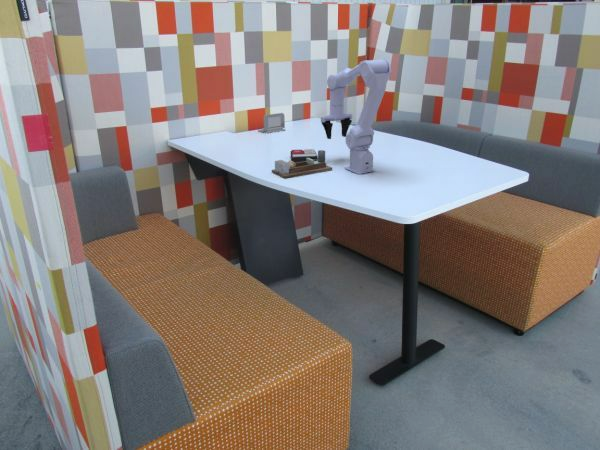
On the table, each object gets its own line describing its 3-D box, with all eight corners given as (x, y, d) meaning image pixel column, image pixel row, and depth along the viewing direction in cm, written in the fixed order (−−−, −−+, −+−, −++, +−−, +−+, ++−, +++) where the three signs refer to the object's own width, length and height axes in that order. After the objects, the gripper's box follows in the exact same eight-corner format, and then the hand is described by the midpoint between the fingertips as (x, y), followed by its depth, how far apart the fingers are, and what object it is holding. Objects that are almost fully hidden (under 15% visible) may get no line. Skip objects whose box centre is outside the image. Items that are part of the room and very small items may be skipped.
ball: (297, 161, 199) (288, 162, 197) (297, 171, 200) (289, 172, 198) (292, 159, 202) (283, 160, 200) (292, 168, 204) (284, 170, 202)
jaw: (327, 165, 207) (327, 151, 204) (311, 168, 203) (311, 154, 201) (321, 163, 210) (321, 149, 208) (306, 165, 207) (306, 152, 204)
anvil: (290, 173, 197) (289, 163, 196) (283, 174, 196) (283, 164, 194) (281, 169, 203) (281, 160, 201) (275, 170, 201) (274, 161, 200)
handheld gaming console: (276, 128, 288) (276, 110, 284) (285, 131, 281) (284, 112, 277) (256, 131, 281) (255, 113, 277) (265, 134, 274) (264, 115, 270)
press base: (332, 170, 204) (332, 163, 203) (284, 178, 194) (284, 171, 193) (317, 164, 213) (317, 157, 212) (271, 172, 203) (271, 165, 202)
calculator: (314, 148, 226) (317, 154, 212) (315, 157, 228) (317, 164, 213) (290, 149, 226) (291, 155, 212) (290, 158, 227) (291, 165, 213)
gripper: (345, 102, 215) (345, 133, 220) (316, 105, 208) (316, 137, 213) (355, 104, 209) (354, 136, 214) (326, 107, 202) (326, 140, 207)
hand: (336, 137), depth 213 cm, fingers open, 7 cm apart
